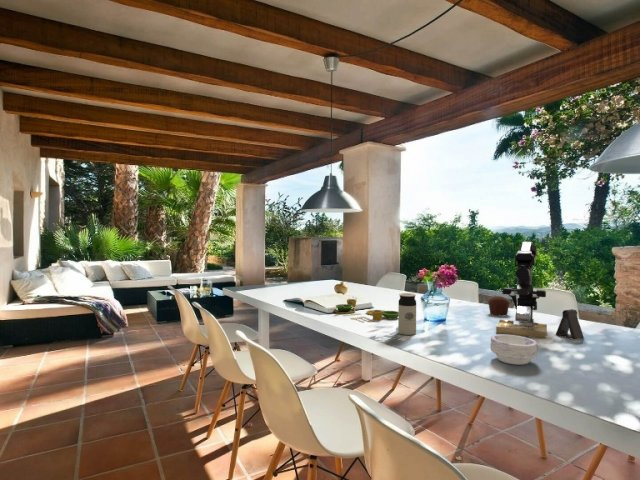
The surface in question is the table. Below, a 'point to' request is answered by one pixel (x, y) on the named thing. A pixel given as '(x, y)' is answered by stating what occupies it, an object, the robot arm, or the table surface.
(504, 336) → the paper bowls
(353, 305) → the tableware set
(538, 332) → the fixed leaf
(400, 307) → the travel mug
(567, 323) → the dark brown a-frame stand
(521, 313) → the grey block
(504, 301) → the muffin
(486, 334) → the table surface
